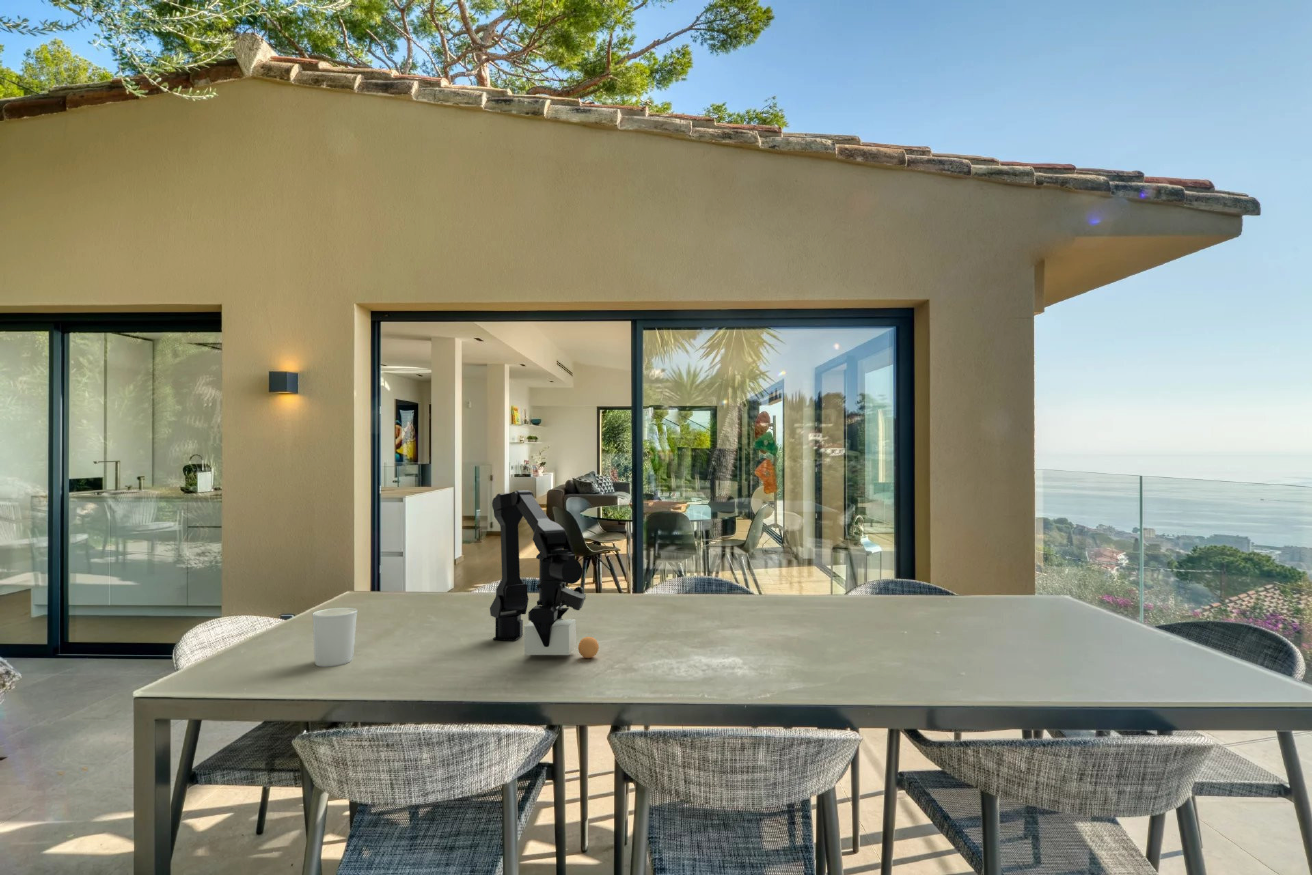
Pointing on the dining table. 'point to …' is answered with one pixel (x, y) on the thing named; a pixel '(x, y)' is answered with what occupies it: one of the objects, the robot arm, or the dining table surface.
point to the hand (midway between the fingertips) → (550, 642)
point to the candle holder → (334, 636)
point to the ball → (588, 647)
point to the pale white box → (551, 639)
